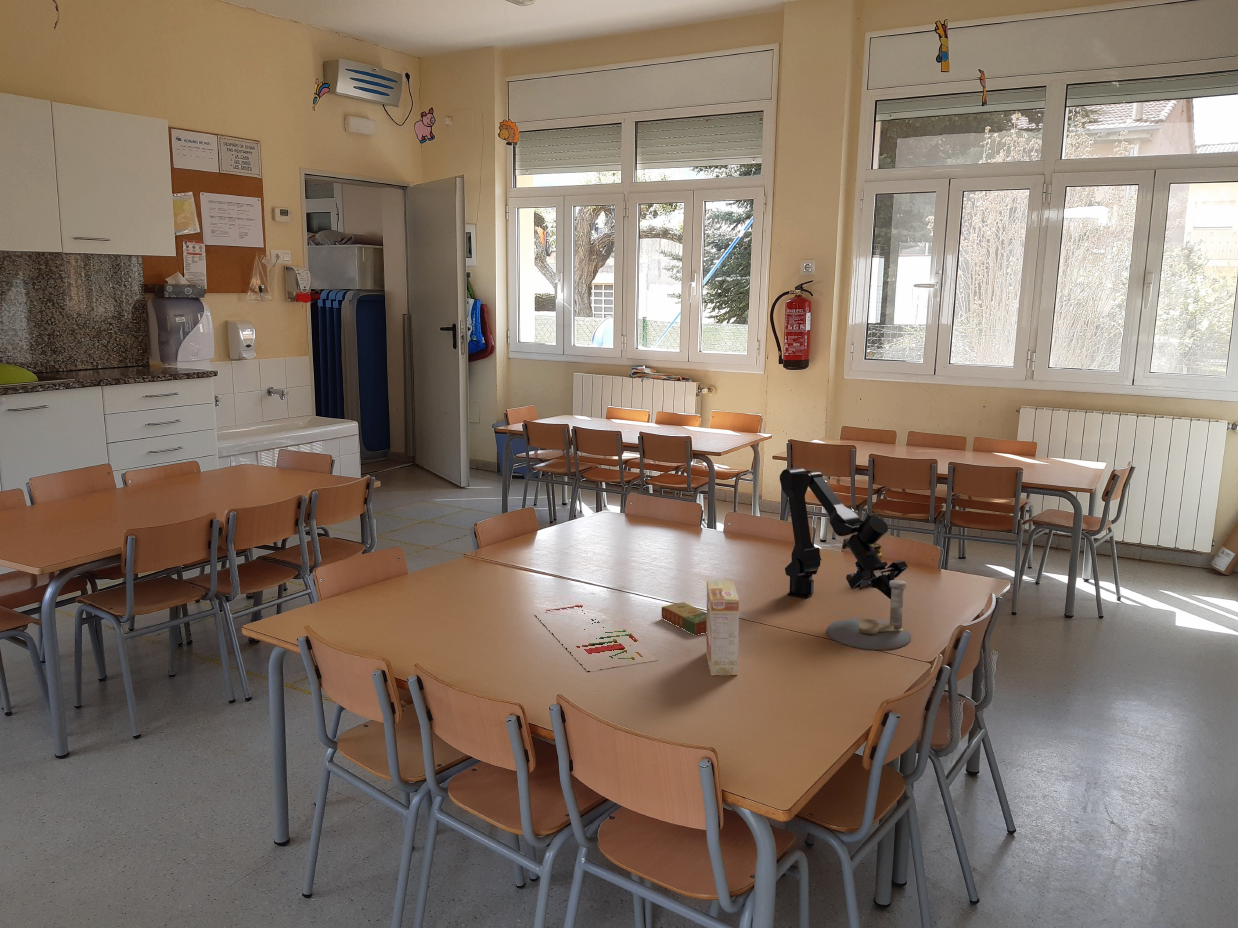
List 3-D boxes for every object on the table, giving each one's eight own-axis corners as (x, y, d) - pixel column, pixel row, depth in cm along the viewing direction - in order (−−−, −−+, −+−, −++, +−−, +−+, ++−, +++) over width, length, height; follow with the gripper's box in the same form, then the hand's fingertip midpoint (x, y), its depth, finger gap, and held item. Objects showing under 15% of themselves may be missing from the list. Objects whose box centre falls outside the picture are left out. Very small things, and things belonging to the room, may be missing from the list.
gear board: (658, 652, 226) (587, 665, 219) (658, 661, 226) (587, 674, 219) (595, 599, 267) (533, 608, 260) (595, 607, 267) (534, 616, 260)
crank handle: (864, 635, 239) (866, 587, 237) (855, 628, 244) (857, 582, 242) (907, 631, 242) (910, 584, 239) (898, 624, 247) (900, 579, 244)
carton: (684, 614, 260) (684, 600, 259) (719, 631, 247) (719, 616, 246) (660, 620, 256) (661, 605, 255) (695, 637, 242) (695, 622, 242)
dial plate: (816, 640, 238) (816, 637, 238) (839, 615, 257) (840, 613, 257) (900, 655, 228) (900, 653, 228) (918, 628, 246) (918, 626, 246)
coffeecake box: (705, 652, 231) (706, 579, 228) (732, 652, 231) (734, 580, 227) (709, 675, 216) (710, 599, 213) (738, 676, 216) (740, 599, 213)
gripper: (871, 562, 262) (901, 608, 255) (825, 574, 253) (855, 621, 245) (893, 542, 254) (924, 588, 247) (847, 552, 245) (877, 601, 237)
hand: (894, 600), depth 244 cm, fingers closed, pressing on crank handle
